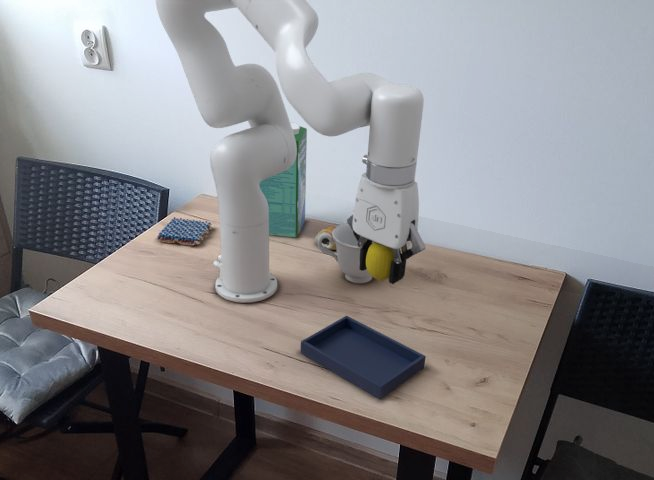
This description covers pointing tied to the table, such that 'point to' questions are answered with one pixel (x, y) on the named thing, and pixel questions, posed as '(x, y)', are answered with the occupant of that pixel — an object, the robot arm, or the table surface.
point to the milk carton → (288, 192)
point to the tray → (363, 356)
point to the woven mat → (184, 231)
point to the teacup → (346, 253)
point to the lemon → (379, 261)
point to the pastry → (326, 241)
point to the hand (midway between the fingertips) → (381, 273)
